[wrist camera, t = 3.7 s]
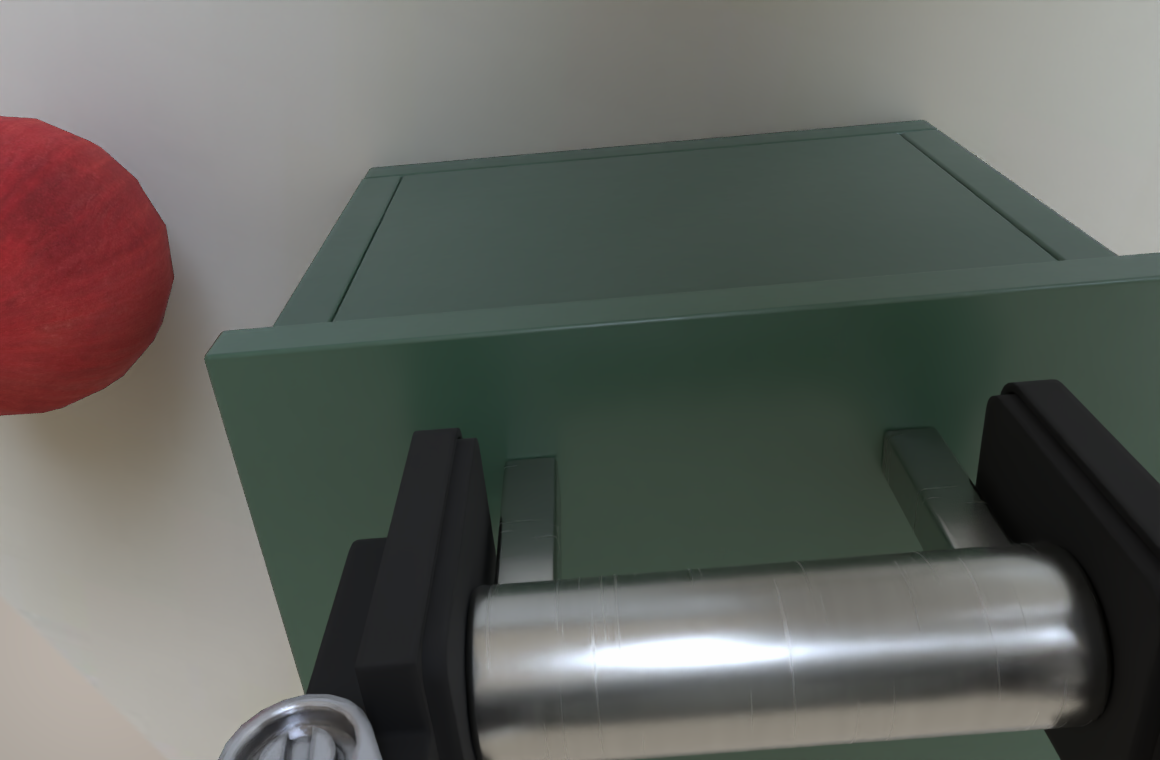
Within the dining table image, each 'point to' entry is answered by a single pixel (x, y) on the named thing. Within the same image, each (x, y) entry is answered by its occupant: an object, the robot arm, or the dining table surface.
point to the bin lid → (720, 505)
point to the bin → (673, 222)
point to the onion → (72, 268)
